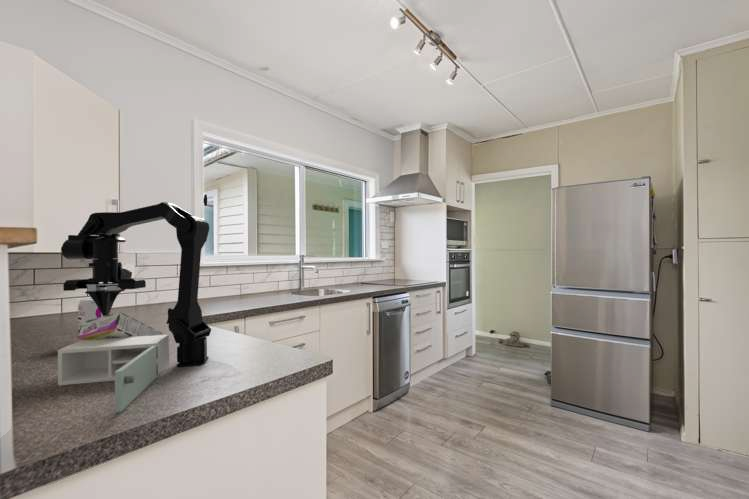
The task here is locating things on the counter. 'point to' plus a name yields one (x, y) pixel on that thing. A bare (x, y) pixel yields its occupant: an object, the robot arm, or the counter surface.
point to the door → (135, 377)
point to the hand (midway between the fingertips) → (105, 315)
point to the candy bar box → (114, 328)
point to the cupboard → (106, 357)
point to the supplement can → (87, 311)
